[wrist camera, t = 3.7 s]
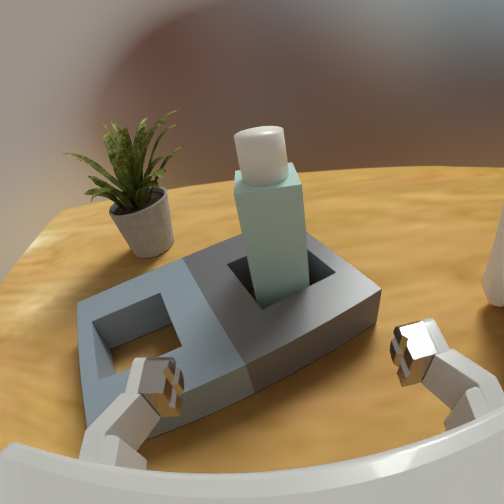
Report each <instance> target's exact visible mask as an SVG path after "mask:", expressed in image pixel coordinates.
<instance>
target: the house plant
mask: <svg viewBox="0 0 504 504" xmlns="http://www.w3.org/2000/svg"><path fill="white" fill-rule="evenodd" d="M178 110H179V109H178ZM178 110H175V111H178ZM175 111H172V112H170V113H168V114H166V115H164V116H163V117H162V118H161V119H159V120H158V121H157V122H156V124H155V125H154V126H153V127H152V128H151V131H150V129H149V130H148V131H147V132H146V133H145V134H144V132H145V128H146V127H147V126H145V123H146V120H147V117H146V118H145V119H144V120H143V121H142V122H141V123H140V124H139V126H138V129H137V132H136V136H135V140H134V145H133V148H132V143H131V139H130V136H129V133H128V129H127V128H126V127H125V128H124V129H123V131H122V130H121V129H120V128H119V127H118V126H117V124H115V123H114V122H113V121H111V120H110V122H111V124H112V125H113V127H114V129H115V131H116V133H117V138H118V141H117V139H116V138H115V136H114V135H113V133H112V132H111V131H110V130H109V129H108V128H107V127H106V126H105V125H104V124H103V126H104V127H105V128H106V129H107V130H108V132H109V133H106V132H103V138H104V142H105V145H106V148H107V151H108V155H109V158H110V161H111V163H112V165H113V166H114V172H115V174H116V177H117V179H118V180H119V181H118V180H116V179H115V178H114V177H113V176H111V175H110V174H109V173H108V172H107V171H106V170H105V169H103V168H102V167H101V166H100V165H99V164H97V163H96V162H94V161H93V160H91V159H89V158H87V157H85V156H82V155H78V154H73V153H65V154H68V155H71V156H75V157H77V158H79V159H81V160H80V161H83V162H86V163H87V164H89V165H90V166H92V167H93V168H94V169H95V170H97V171H98V172H99V173H101V174H102V175H103V176H105V177H106V178H107V179H108V180H110V181H111V182H112V183H113V184H115V185H116V186H117V187H119V188H120V189H121V190H122V191H123V192H122V191H119V190H117V189H115V188H114V187H113V186H111V185H109V184H108V183H106V182H104V181H102V180H100V179H98V178H96V177H94V176H88V177H89V178H90V179H92V180H93V182H94V183H95V184H96V185H98V186H100V187H101V188H95V189H91V190H88V191H87V192H86V193H85V194H87V195H93V196H92V199H93V198H94V197H96V196H103V197H107V198H109V199H110V200H112V201H114V202H115V203H114V204H113V205H112V206H111V207H110V210H109V214H110V216H111V217H112V219H113V221H114V222H115V224H116V226H117V227H118V229H119V230H120V232H121V234H122V235H123V237H124V238H125V240H126V242H127V243H128V245H129V246H130V248H131V249H132V251H133V252H134V254H135V255H136V256H137V257H139V258H151V257H156V256H158V255H160V254H162V253H164V252H166V251H167V250H168V249H169V248H170V247H171V246H172V244H173V242H174V237H173V231H172V224H171V217H170V210H169V203H168V195H167V190H166V189H165V188H163V187H159V186H158V182H157V179H158V177H160V178H162V180H163V176H164V174H165V172H166V171H165V169H163V167H164V166H165V164H166V162H167V161H168V159H169V158H170V157H173V158H176V157H174V156H172V154H173V153H174V152H175V151H177V150H178V149H180V148H182V147H180V148H177V149H175V150H174V151H172V152H171V153H170V154H169V155H168V156H162V157H159V158H157V159H155V160H154V161H152V158H153V155H154V152H155V149H156V147H157V145H158V143H159V141H160V139H161V138H162V136H163V135H164V134H165V132H166V131H167V130H168V129H170V128H171V127H173V126H175V125H172V126H170V127H168V128H166V129H165V130H164V131H163V132H162V133H161V135H160V136H159V137H158V139H157V141H156V143H155V145H154V148H153V151H152V154H151V158H150V161H149V165H148V168H147V171H146V172H145V175H144V178H143V167H144V162H145V161H144V159H145V155H146V151H147V148H148V145H149V143H150V140H151V138H152V135H153V134H154V132H155V130H156V128H157V127H158V126H159V125H160V124H163V123H161V122H162V121H163V120H164V119H165V118H166V117H167V116H168V115H169V114H171V113H173V112H175ZM176 125H177V124H176ZM149 131H150V133H149ZM148 133H149V135H148ZM109 134H110V135H111V136H110V135H109ZM147 135H148V137H147ZM146 139H147V140H146ZM118 142H119V143H118ZM133 151H134V155H133ZM164 158H166V159H165V160H164V162H163V163H162V165H161V167H160V169H159V170H158V171H156V172H155V173H153V174H151V175H149V174H150V173H151V171H152V169H153V167H154V166H155V165H156V164H157V163H158V162H159V161H160V160H162V159H164ZM151 161H152V163H151ZM152 176H156V178H155V180H154V181H151V178H152ZM115 196H116V197H118V198H119V200H118V199H117V198H116V197H115ZM91 201H92V200H91Z"/></svg>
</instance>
